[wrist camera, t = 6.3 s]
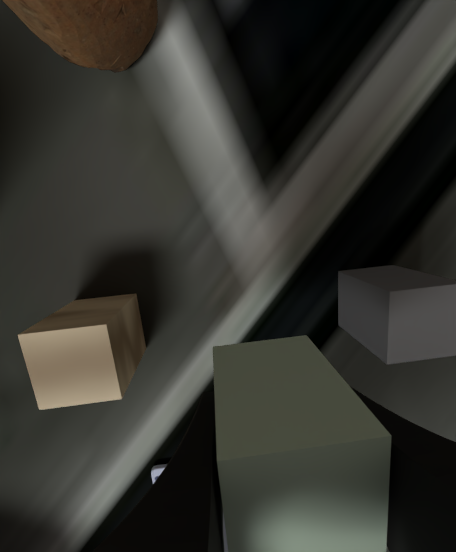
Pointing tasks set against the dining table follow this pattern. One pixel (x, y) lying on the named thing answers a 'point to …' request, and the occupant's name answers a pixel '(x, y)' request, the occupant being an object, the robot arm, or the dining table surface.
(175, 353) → the dining table surface
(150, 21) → the brown rough elongated lump
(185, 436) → the robot arm
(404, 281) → the charcoal block
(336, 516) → the sage block
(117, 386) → the beech block
